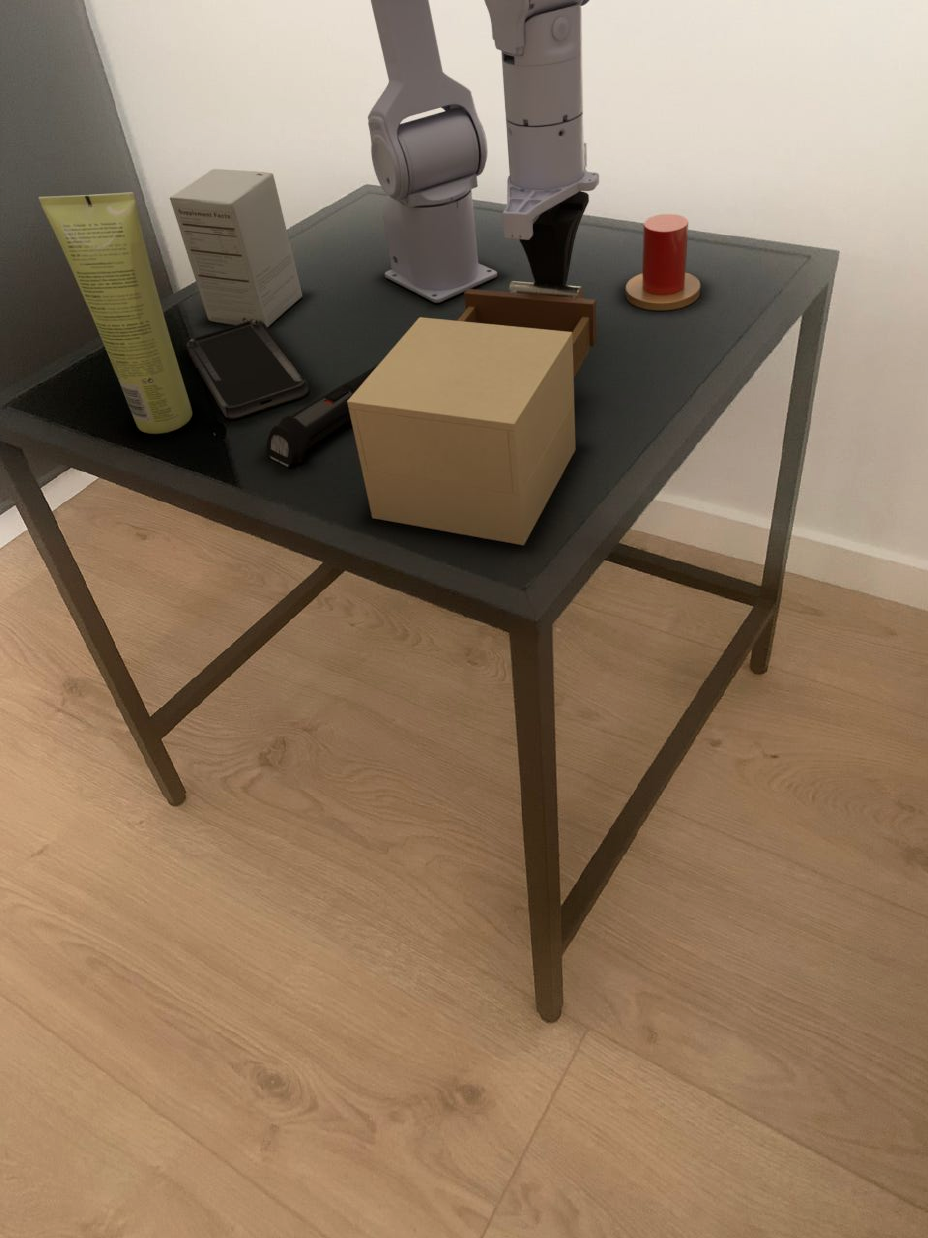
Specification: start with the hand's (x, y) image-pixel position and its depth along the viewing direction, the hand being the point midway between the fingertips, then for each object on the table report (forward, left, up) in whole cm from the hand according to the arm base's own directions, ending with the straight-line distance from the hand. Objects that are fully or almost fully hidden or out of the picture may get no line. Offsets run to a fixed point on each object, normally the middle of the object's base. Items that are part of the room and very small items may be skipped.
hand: (551, 288), depth 80 cm
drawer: (+4, -8, -2) cm, 9 cm away
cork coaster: (-2, +15, -7) cm, 17 cm away
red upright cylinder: (-2, +15, -6) cm, 16 cm away
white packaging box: (-31, -14, -7) cm, 34 cm away
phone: (-20, -21, -7) cm, 29 cm away
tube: (-18, -30, -7) cm, 35 cm away
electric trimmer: (-6, -19, -7) cm, 21 cm away
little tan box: (+9, -16, -7) cm, 20 cm away
